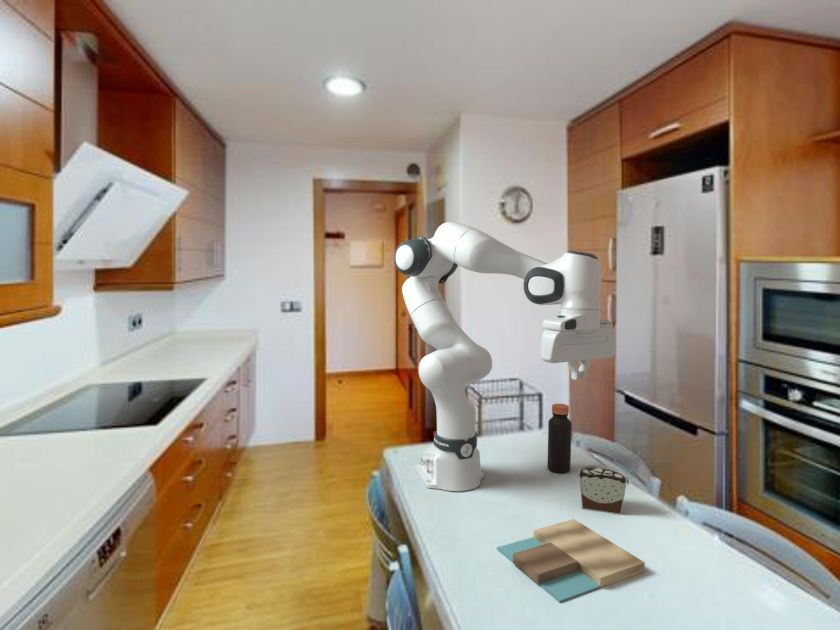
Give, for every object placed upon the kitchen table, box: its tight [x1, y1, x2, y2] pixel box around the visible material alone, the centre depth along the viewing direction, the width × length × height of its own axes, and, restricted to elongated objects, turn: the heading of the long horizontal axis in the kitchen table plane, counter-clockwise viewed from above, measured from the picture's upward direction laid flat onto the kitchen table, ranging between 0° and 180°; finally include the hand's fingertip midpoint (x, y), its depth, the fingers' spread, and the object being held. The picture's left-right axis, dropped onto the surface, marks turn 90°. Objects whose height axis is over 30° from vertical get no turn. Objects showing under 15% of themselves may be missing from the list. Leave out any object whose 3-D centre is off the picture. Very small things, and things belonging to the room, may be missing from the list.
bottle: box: [547, 403, 573, 474], centre depth 155 cm, size 7×7×20 cm
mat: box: [496, 536, 601, 603], centre depth 104 cm, size 20×10×1 cm, turn 26°
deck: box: [532, 518, 646, 589], centre depth 109 cm, size 20×12×2 cm, turn 26°
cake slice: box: [576, 464, 630, 516], centre depth 131 cm, size 12×6×10 cm, turn 71°
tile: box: [512, 542, 578, 585], centre depth 103 cm, size 8×10×2 cm
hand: (578, 378), depth 120 cm, fingers closed
